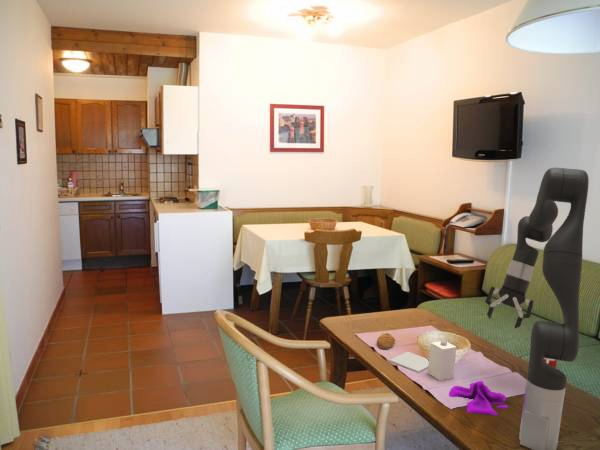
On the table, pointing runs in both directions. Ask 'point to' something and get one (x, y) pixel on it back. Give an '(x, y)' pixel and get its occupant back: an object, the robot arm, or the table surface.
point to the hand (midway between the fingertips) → (502, 323)
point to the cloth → (479, 398)
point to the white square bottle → (442, 360)
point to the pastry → (386, 341)
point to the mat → (411, 361)
